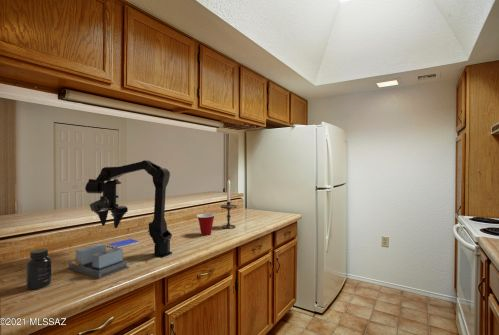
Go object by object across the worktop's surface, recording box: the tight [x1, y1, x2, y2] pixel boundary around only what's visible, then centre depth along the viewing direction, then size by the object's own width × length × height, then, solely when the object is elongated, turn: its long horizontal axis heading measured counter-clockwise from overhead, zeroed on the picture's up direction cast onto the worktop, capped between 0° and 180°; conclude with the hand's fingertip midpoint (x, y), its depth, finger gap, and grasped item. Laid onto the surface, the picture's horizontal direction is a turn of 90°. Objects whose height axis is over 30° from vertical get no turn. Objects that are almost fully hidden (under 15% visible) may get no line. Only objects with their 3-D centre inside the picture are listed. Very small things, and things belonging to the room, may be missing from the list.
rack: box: [67, 247, 130, 280], centre depth 108 cm, size 13×20×7 cm, turn 62°
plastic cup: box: [196, 212, 216, 236], centre depth 162 cm, size 11×11×12 cm
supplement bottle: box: [25, 248, 52, 291], centre depth 92 cm, size 7×7×12 cm
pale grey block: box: [75, 243, 107, 265], centre depth 111 cm, size 10×4×7 cm, turn 152°
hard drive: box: [106, 238, 139, 249], centre depth 141 cm, size 2×8×12 cm
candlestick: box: [219, 175, 238, 230], centre depth 180 cm, size 11×11×35 cm
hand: (109, 226), depth 128 cm, fingers open, 9 cm apart
